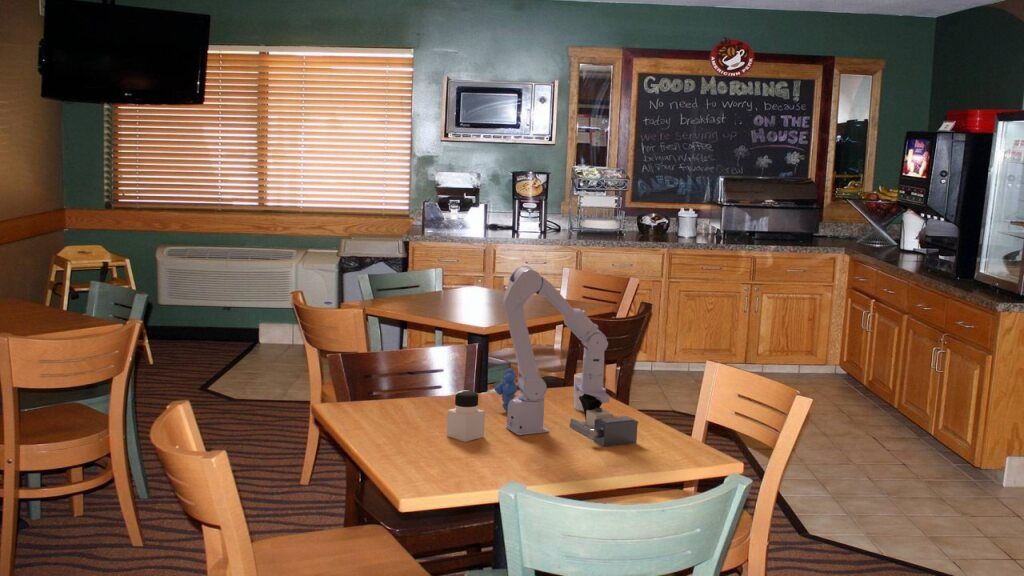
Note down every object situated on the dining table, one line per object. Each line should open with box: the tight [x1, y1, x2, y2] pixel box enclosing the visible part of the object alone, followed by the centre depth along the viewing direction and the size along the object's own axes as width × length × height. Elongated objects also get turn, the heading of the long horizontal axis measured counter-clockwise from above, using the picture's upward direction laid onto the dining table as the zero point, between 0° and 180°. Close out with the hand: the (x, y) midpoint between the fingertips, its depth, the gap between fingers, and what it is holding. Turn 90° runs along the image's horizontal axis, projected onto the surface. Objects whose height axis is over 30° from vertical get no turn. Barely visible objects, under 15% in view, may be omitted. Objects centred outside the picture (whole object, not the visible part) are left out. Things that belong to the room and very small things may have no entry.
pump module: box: [585, 407, 613, 429], centre depth 260 cm, size 5×5×6 cm
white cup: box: [573, 372, 584, 412], centre depth 285 cm, size 8×8×10 cm
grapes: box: [494, 367, 518, 412], centre depth 280 cm, size 12×7×12 cm, turn 175°
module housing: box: [569, 415, 639, 448], centre depth 258 cm, size 13×19×6 cm
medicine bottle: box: [446, 389, 486, 443], centre depth 252 cm, size 7×7×12 cm
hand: (590, 422), depth 264 cm, fingers closed
